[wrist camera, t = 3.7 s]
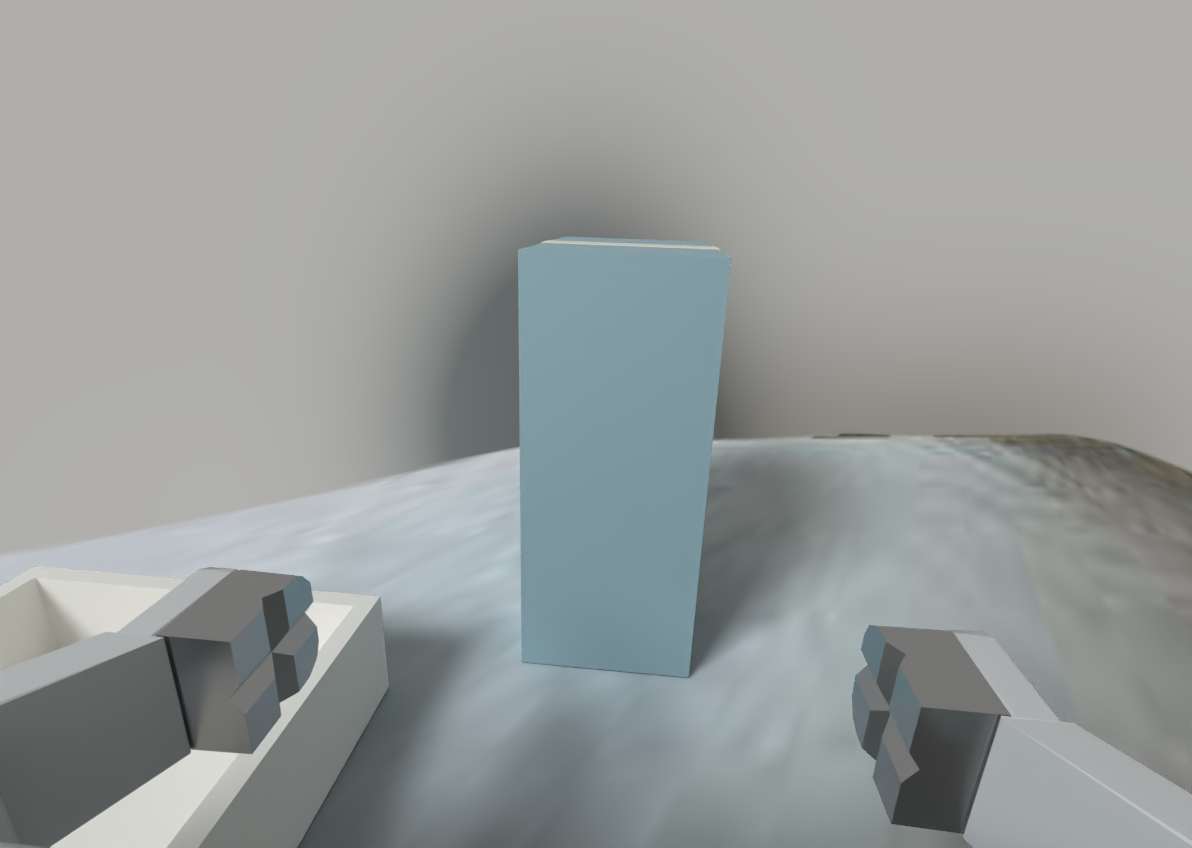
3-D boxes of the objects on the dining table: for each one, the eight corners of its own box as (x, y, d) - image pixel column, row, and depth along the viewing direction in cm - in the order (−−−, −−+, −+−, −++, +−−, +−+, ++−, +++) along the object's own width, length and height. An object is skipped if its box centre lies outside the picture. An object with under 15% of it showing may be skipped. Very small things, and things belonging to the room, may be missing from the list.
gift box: (681, 541, 26) (707, 241, 22) (690, 678, 18) (733, 257, 14) (560, 532, 26) (564, 236, 22) (520, 662, 19) (516, 248, 15)
